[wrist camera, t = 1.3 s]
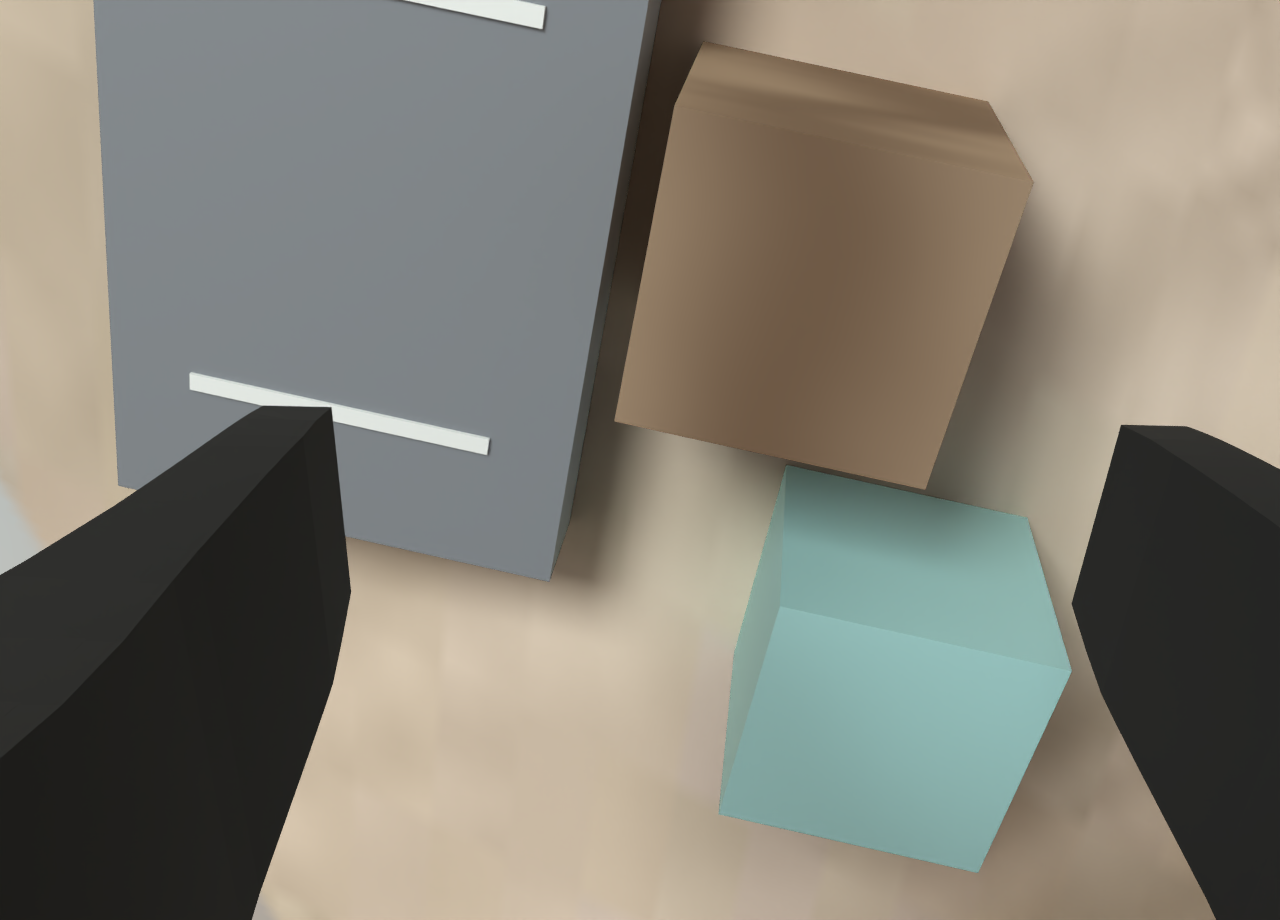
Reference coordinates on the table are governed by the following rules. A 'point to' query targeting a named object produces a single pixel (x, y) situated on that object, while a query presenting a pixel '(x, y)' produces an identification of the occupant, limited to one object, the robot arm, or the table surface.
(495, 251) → the board
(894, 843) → the teal cube
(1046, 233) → the table surface
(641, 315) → the walnut cube
